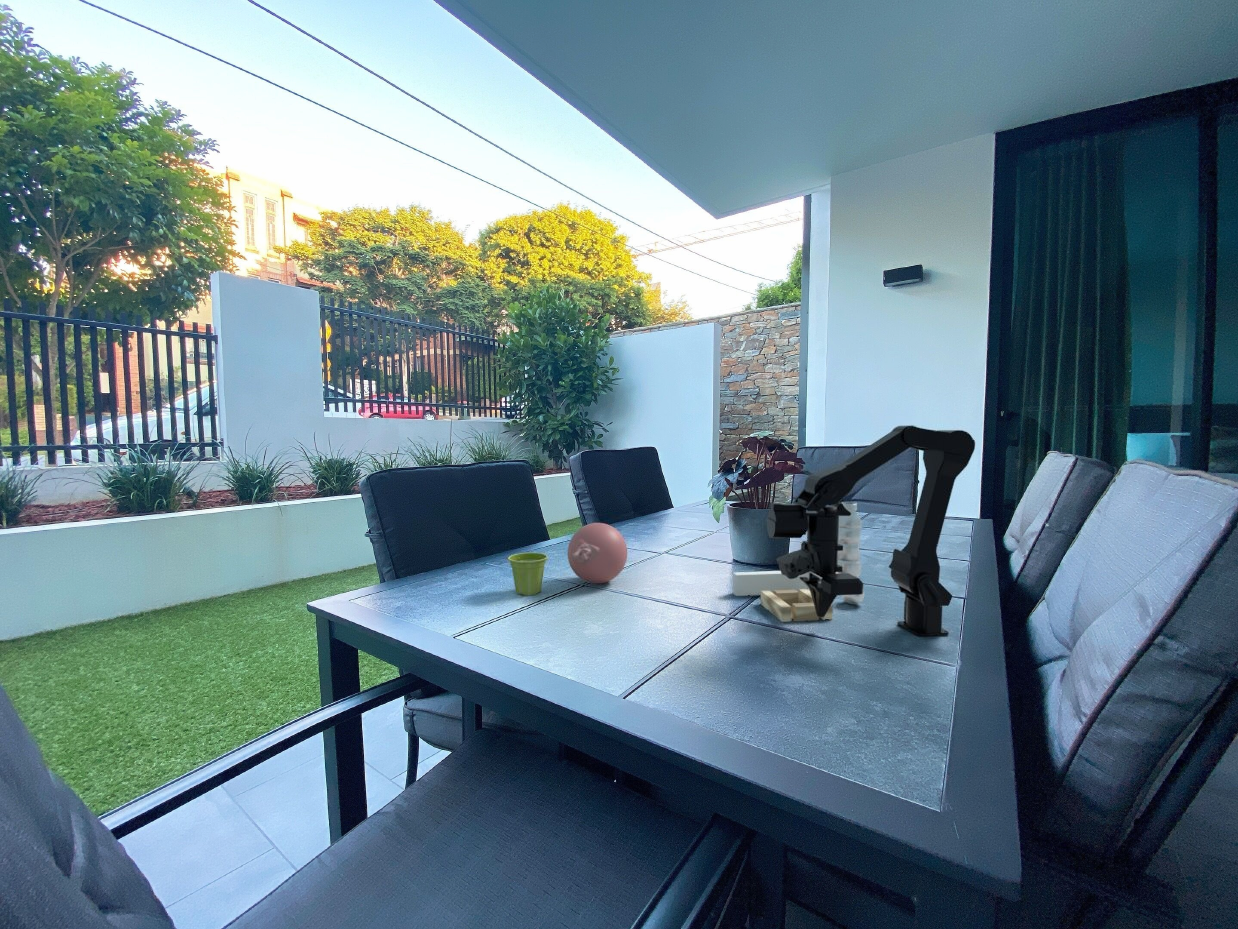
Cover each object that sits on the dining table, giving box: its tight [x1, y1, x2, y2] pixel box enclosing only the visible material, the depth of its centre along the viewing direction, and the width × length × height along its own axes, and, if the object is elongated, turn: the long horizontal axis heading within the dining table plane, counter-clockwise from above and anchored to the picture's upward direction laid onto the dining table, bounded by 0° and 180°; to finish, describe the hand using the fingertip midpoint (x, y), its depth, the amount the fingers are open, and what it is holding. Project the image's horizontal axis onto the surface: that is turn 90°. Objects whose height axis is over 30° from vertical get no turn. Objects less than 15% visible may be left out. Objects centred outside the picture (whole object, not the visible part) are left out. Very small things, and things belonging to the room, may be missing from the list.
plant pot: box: [507, 552, 549, 596], centre depth 125 cm, size 9×9×9 cm
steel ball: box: [840, 589, 865, 605], centre depth 116 cm, size 5×5×5 cm
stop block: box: [732, 570, 809, 597], centre depth 124 cm, size 2×18×5 cm, turn 97°
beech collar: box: [760, 588, 834, 623], centre depth 111 cm, size 11×11×3 cm
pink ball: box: [567, 522, 628, 584], centre depth 130 cm, size 15×20×15 cm
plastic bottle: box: [838, 501, 863, 578], centre depth 137 cm, size 6×7×20 cm
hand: (820, 616), depth 101 cm, fingers closed
